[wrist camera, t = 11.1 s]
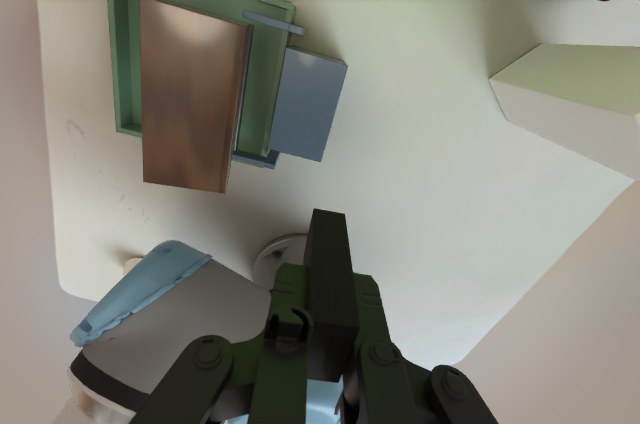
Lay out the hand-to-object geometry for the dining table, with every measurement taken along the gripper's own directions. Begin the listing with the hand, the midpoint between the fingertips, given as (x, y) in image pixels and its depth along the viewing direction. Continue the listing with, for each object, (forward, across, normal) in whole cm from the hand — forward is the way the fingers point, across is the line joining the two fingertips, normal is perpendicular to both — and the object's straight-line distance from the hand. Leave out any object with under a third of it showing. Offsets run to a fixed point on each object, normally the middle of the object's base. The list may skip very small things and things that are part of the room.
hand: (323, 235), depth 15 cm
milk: (+26, -22, -8) cm, 35 cm away
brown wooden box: (+15, +8, -2) cm, 17 cm away
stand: (+26, +4, -2) cm, 26 cm away
